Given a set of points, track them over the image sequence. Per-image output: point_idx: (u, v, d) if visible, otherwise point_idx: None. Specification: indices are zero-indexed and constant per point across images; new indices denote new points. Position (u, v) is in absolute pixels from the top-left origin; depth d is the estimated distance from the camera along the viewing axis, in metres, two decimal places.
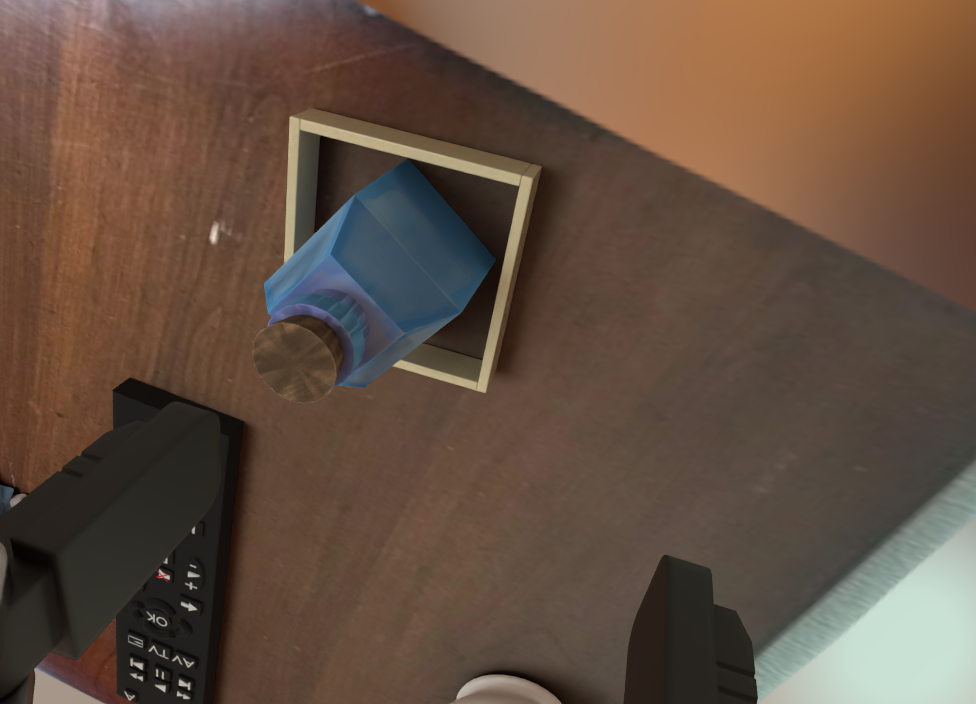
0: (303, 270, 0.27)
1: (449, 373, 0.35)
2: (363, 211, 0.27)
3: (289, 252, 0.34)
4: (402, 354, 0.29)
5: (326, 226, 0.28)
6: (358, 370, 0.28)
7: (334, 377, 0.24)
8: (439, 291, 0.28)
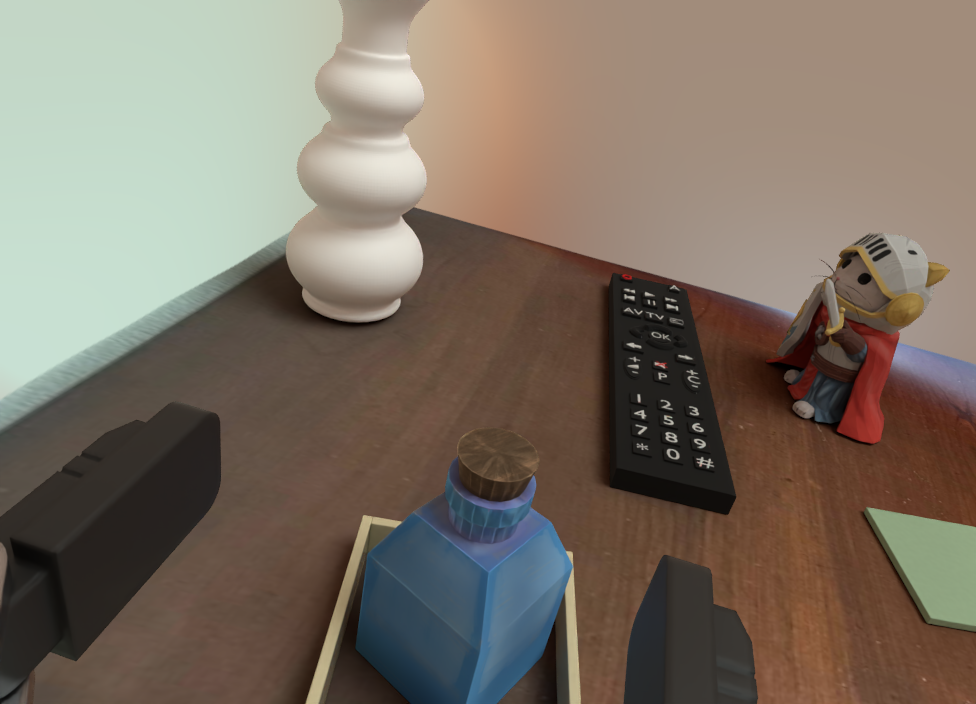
0: (520, 563, 0.27)
1: None
2: (468, 635, 0.26)
3: (570, 624, 0.32)
4: None
5: (508, 617, 0.27)
6: None
7: (459, 445, 0.27)
8: (389, 568, 0.28)
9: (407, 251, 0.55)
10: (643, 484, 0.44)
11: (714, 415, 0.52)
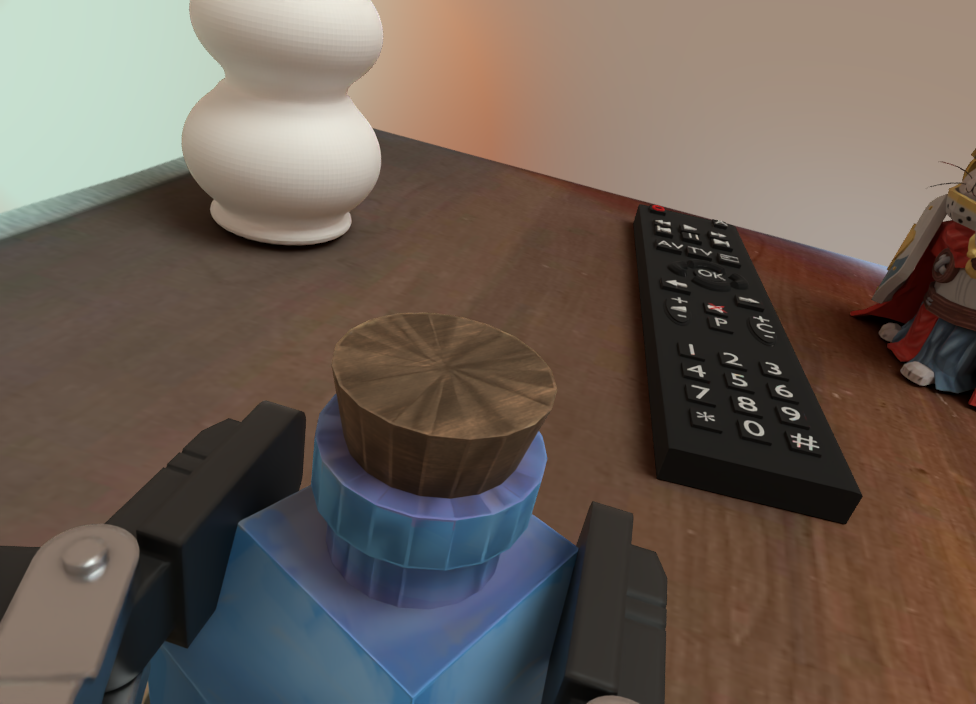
0: (504, 657, 0.11)
1: None
2: None
3: None
4: None
5: None
6: None
7: (341, 345, 0.10)
8: (183, 662, 0.11)
9: (354, 139, 0.38)
10: (711, 474, 0.28)
11: (803, 375, 0.35)
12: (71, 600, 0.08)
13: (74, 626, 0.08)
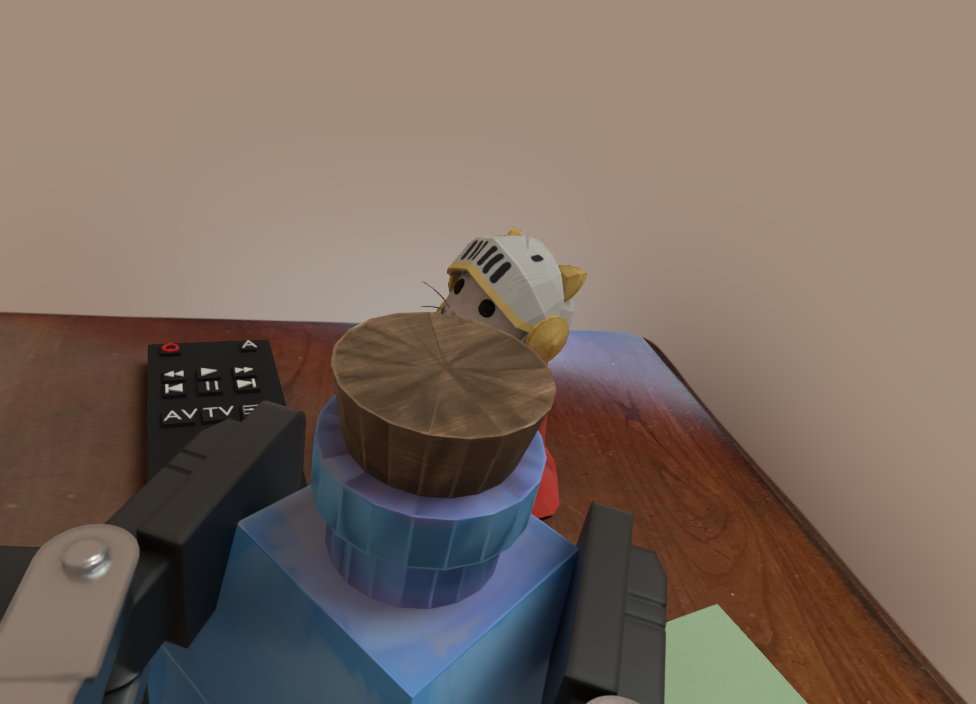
0: (503, 657, 0.11)
1: None
2: None
3: None
4: None
5: None
6: None
7: (340, 344, 0.10)
8: (182, 662, 0.11)
9: None
10: None
11: None
12: (70, 599, 0.08)
13: (75, 626, 0.08)
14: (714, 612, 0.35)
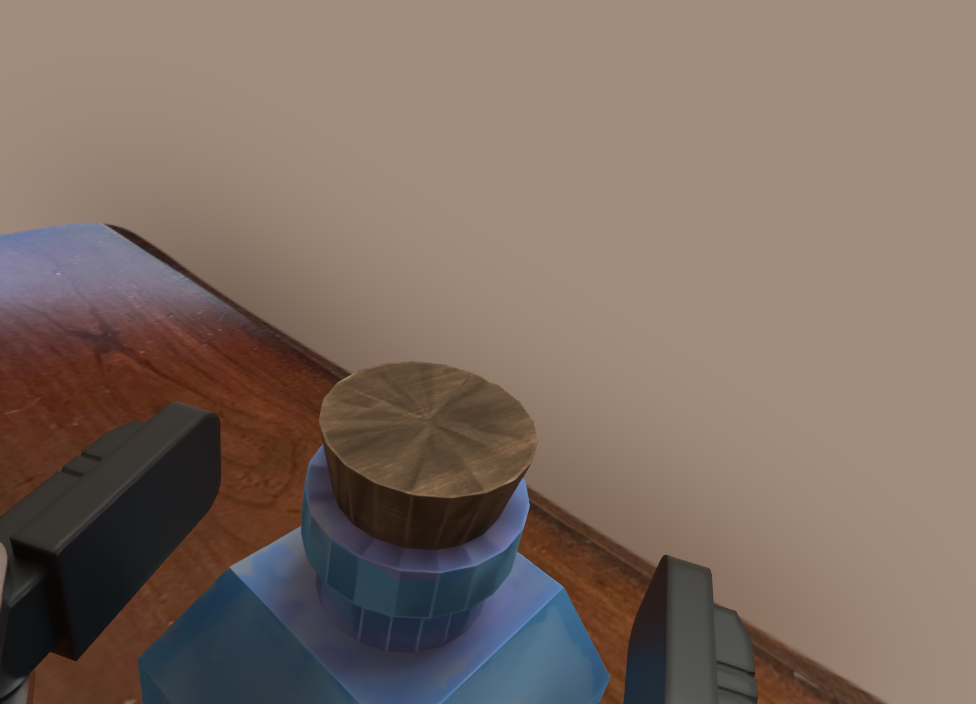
0: (489, 698, 0.11)
1: None
2: None
3: None
4: None
5: None
6: None
7: (328, 399, 0.10)
8: (177, 701, 0.12)
9: None
10: None
11: None
12: None
13: None
14: None
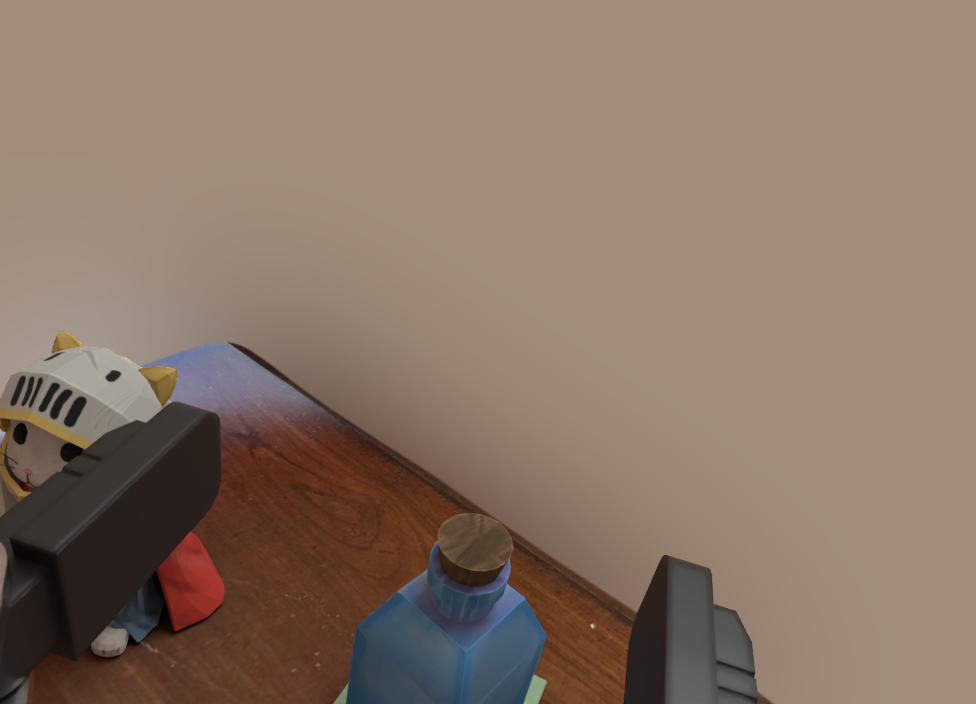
0: (496, 639, 0.30)
1: None
2: None
3: None
4: None
5: (484, 690, 0.29)
6: None
7: (439, 533, 0.29)
8: (375, 642, 0.31)
9: None
10: None
11: None
12: None
13: None
14: None
